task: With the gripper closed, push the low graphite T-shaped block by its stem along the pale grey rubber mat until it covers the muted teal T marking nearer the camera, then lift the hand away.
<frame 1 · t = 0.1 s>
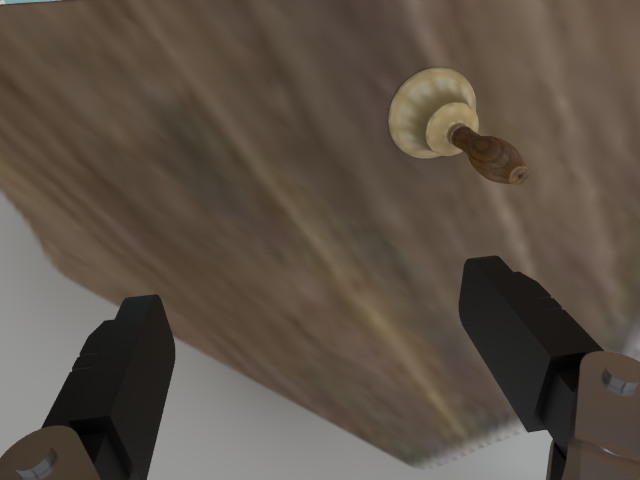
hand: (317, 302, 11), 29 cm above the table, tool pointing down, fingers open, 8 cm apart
hand bell: (430, 114, 39), on the table
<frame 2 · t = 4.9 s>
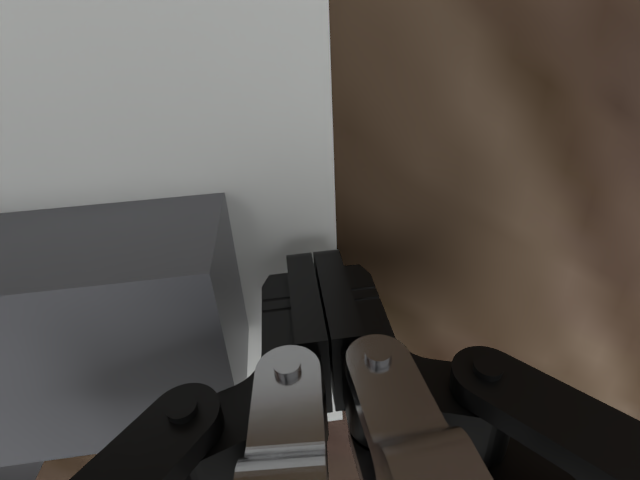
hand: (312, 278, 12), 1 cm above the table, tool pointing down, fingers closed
t block: (35, 288, 12), resting on runner mat, touching gripper
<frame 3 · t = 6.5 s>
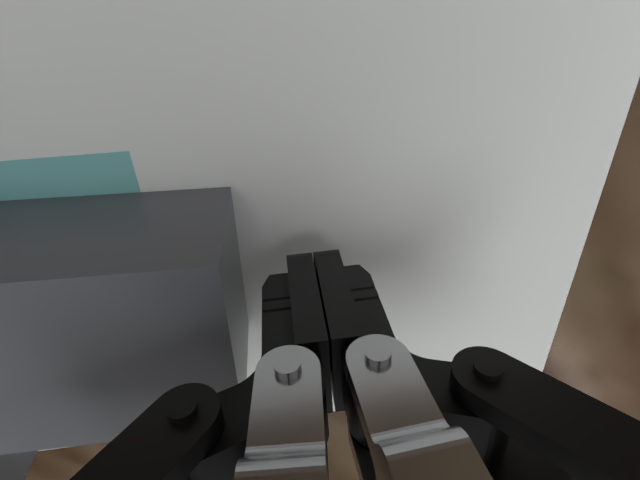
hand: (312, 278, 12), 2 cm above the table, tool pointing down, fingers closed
runner mat: (142, 245, 13), on the table
t block: (35, 277, 12), resting on runner mat, touching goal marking, gripper
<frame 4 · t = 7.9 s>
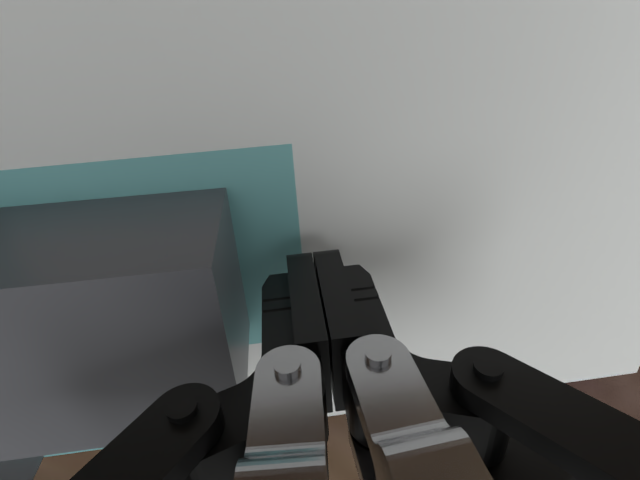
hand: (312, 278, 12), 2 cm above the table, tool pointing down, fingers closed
runner mat: (283, 236, 13), on the table
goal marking: (73, 273, 13), resting on runner mat
t block: (35, 283, 12), resting on runner mat, touching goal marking, gripper
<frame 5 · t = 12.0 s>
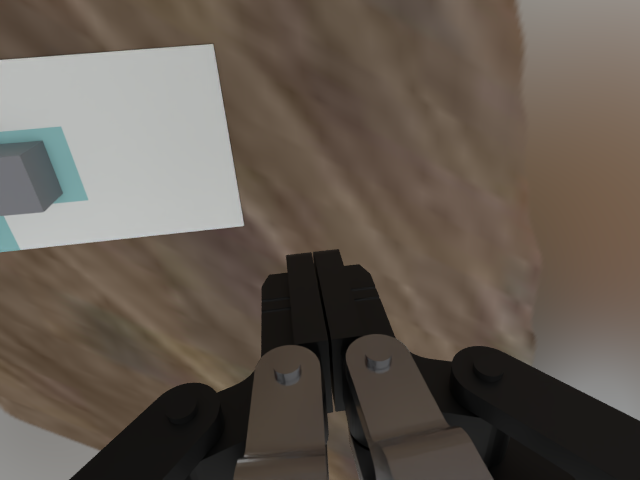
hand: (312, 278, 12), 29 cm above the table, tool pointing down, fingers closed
runner mat: (69, 159, 38), on the table
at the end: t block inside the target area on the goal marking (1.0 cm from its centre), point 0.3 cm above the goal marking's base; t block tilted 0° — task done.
